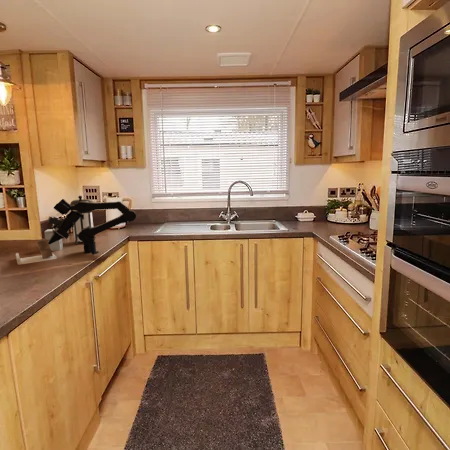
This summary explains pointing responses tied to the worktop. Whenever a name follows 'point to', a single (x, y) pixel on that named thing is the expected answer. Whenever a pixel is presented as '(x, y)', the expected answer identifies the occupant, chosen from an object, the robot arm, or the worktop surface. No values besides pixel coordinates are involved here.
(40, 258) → the white shallow tray
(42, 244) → the block
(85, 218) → the coffee press
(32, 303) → the worktop surface
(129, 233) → the worktop surface
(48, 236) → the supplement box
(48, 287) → the worktop surface
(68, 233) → the robot arm
